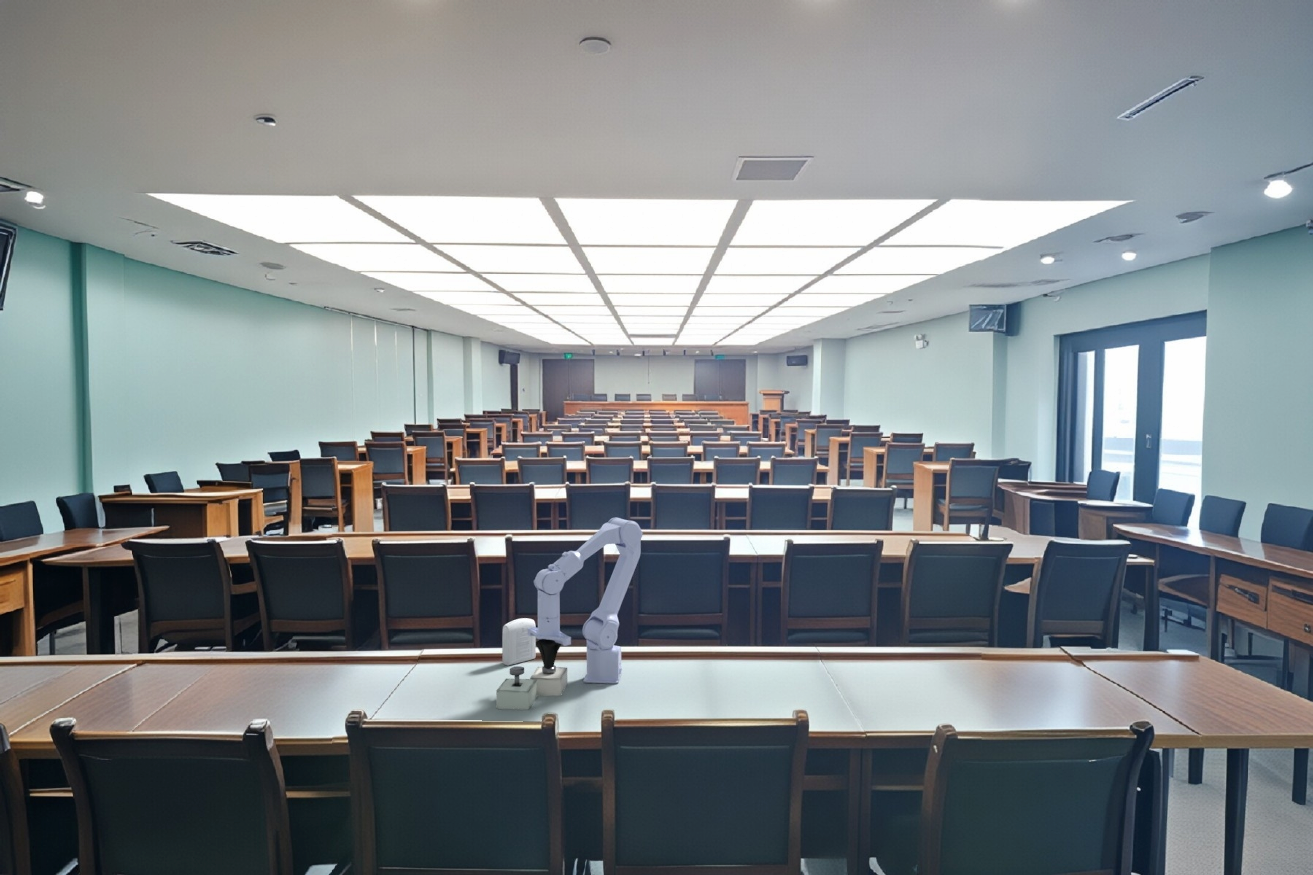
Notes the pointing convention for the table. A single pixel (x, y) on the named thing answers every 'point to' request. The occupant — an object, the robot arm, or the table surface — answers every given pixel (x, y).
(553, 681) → the white square block
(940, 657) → the table surface
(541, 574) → the robot arm
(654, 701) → the table surface
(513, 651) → the white rounded slab
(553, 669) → the plunger
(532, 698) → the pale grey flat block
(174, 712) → the table surface
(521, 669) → the plunger
